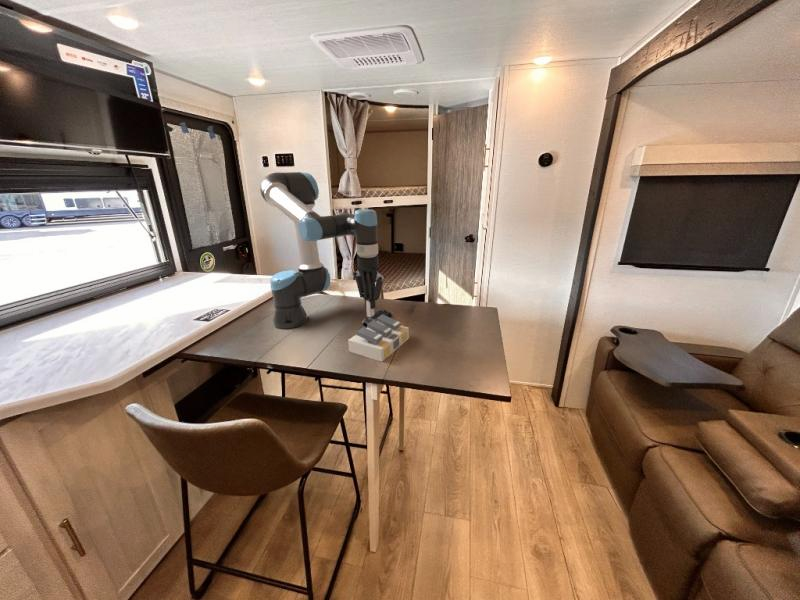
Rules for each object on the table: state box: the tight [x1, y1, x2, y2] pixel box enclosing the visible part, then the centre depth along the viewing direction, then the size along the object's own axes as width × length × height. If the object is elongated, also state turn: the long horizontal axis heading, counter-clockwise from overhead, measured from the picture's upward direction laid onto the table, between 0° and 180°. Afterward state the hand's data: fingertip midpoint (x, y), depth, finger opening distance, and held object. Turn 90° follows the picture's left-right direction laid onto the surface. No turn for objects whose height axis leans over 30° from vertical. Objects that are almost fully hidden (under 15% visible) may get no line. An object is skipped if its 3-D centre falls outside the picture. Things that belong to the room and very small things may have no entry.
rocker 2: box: [366, 320, 392, 337], centre depth 120 cm, size 9×4×2 cm, turn 60°
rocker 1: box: [356, 326, 383, 344], centre depth 115 cm, size 9×4×2 cm, turn 60°
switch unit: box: [347, 321, 410, 363], centre depth 122 cm, size 15×20×6 cm
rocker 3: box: [377, 314, 402, 330], centre depth 126 cm, size 9×4×2 cm, turn 60°
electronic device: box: [361, 309, 394, 328], centre depth 143 cm, size 9×6×15 cm
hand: (370, 315), depth 119 cm, fingers closed
